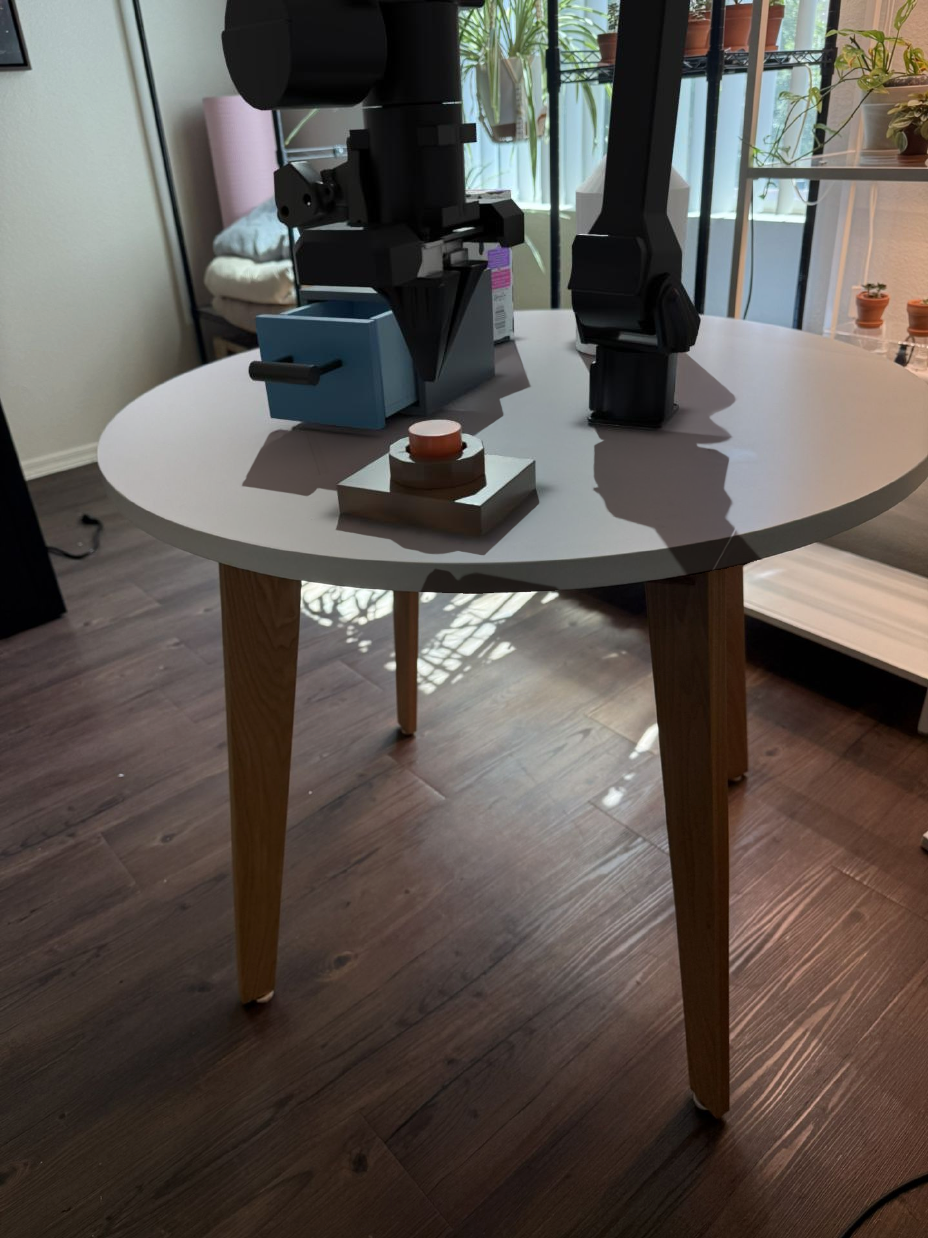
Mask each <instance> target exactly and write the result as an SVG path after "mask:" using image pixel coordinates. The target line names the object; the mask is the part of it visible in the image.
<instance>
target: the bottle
mask: <svg viewBox="0 0 928 1238" xmlns="http://www.w3.org/2000/svg"><path fill="white" fill-rule="evenodd" d="M606 155H607V153H605V155H604V156H603V157H602V158H601V160H600V161H599V163H598V164H597V165H596V167H595V168H594V169H593V170H592V171H591V173H590V174H589V175H588V176H587V177H586V178H585V179H584V181H583V182H582V183H581V184H580V185H579V186H578V187H577V188H576V190H575V236H576V235H577V234H588V232H589V230H590V229H591V227H592V225H593V224H594V222H595V221H596V219H597V217H598V216H599V214H600V212H601V208H602V201H603V189H604V178H605V166H606ZM690 193H691V186H690V184H689V183H688V182H687V181H686V180H685V179H684V178H683V176H682V175H681V174H680V173H679V172H678V170H676V169H675V167H674V166H673V165H672V168H671V176H670V185H669V194H668V203H667V216H668V218H669V221H670V223H671V225H672V228H673V230H674V232H675V235H676V237H677V240H678V242H679V244H680V247H681V249H682V275H683V272H684V263H685V261H684V260H685V249H686V239H687V227H688V216H689V203H690ZM681 282H682V283H683V276H682V277H681ZM596 346H597V345H594V344H587V345H586V344H581V341H580V337H579V332H578V328H577V323H576V322H575V348H576V350H577V351H579V352H581V353H584V354H587V355H592V356H596Z"/></svg>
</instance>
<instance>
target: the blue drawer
mask: <svg viewBox="0 0 928 1238" xmlns="http://www.w3.org/2000/svg"><path fill="white" fill-rule="evenodd" d="M253 318H254V324H255V330H256V335H257V336H256V337H257V343H258V348H259V355H260V360H252V361H251V362H250V363H249V365H248V368H247V369H248V370H247V371H248V372H247V373H248V376H249V378H250V379H251V380H252V381H255V382H263V383H264V386H265V391H266V398H267V404H268V410H269V416H270V417H269V418H270V419H274V420H275V419H276V420H282V421H283V420H284V421H292V422H293V421H294V422H302V423H311V424H319V425H320V424H321V425H328V426H337V427H346V428H354V429H355V428H356V429H363V430H364V429H365V430H372V431H380V430H382V429H383V428H385V427H386V419H385V418H388V417H391V416H392V415H394V414H396V413H395V412H397V411H399V410H401V409H403V408H405V407H406V406H408V405H410V404H412V403H414V402H415V401H417V400H419V392H418V379H417V370H416V368H415V365H414V363H413V360H412V358H411V355H410V353H409V350H408V348H407V345H406V343H405V340H404V338H403V335H402V332H401V330H400V328H399V325H398V323H397V321H396V319H395V317H394V315H393V312H392V310H391V308H390V306H389V304H388V303H379V302H355V301H331V300H321V301H318V302H315V303H312V304H309V305H306V306H302V307H301V306H299V307H297V308H294V309H290V310H287V311H284V312H281V313H279V314H267V313H263V314H259V315H256V316H254V317H253Z"/></svg>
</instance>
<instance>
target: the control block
mask: <svg viewBox="0 0 928 1238" xmlns="http://www.w3.org/2000/svg"><path fill="white" fill-rule="evenodd" d="M536 465H537V464H536V460H535V459H529V458H520V457H513V456H504V455H497V454H487V453H485V446H484V441H483V440H482V439H481V438H479V437H476V436H474V435H471V434H469V433H462V451H461V452H460V453H457V454H453V455H450V456H446V457H433V458H428V457H419V456H413V455H411V454H410V445H409V436H407V437H403V438H400V439H398V440H397V441H395V442H393V443H392V444H390V445H389V446H388V452H387V453H385V454H384V455H383V456H381V457H379V458H377V459H376V460H374V461H372V462H371V463H369V464H368V465H366V466H364V467H363V468H361V469H359V470H358V471H356V472H354V473H353V474H352V475H350V476H348V477H347V478H345V479H343V480H342V481H340V482H337V483H336V486H335V487H336V494H337V502H338V508H339V510H338V511H339V514H341V515H344V516H345V515H346V516H351V517H357V518H364V519H371V520H376V521H383V522H388V523H395V524H400V525H407V526H413V527H420V528H425V529H432V530H439V531H445V532H451V533H455V534H456V533H457V534H463V535H468V536H475V537H480V538H481V537H484V536H485V535H486V534H487V533H489V531H490V530H491V529H493V528H494V527H495V526H496V525H497V524H498V523H499V522H501V521H502V520H503V519H504V518H505V517H506V516H507V515H508V514H509V513H511V511H512V510H514V509H515V508H516V507H517V506H518V505H520V503H522V502H523V501H524V500H525V499H526V498H527V497H528V496H530V495H531V493H532V492H534V491H535V490H536V488H537V481H536V480H537V477H536V476H537V473H536V471H537V470H536Z"/></svg>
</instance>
